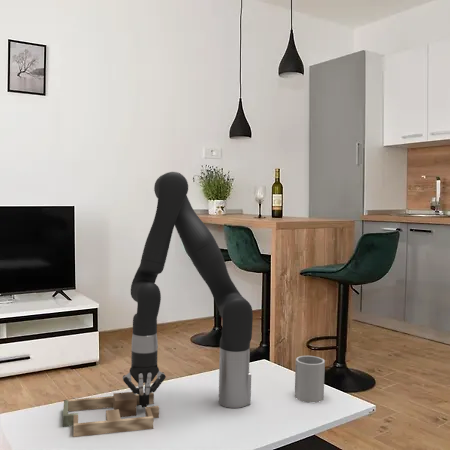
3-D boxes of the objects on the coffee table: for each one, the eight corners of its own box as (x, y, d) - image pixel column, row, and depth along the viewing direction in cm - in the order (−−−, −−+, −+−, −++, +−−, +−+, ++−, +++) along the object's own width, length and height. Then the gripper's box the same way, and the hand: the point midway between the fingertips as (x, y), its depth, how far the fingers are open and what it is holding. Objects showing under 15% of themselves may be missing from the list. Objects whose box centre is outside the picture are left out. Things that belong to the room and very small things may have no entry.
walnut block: (133, 407, 156) (133, 391, 156) (136, 416, 151) (136, 399, 150) (113, 410, 155) (113, 393, 154) (115, 418, 149) (115, 401, 149)
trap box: (153, 402, 161) (153, 392, 161) (162, 427, 143) (162, 417, 143) (63, 410, 153) (63, 400, 153) (62, 437, 136) (62, 426, 136)
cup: (329, 398, 167) (330, 361, 166) (308, 404, 161) (309, 366, 161) (309, 389, 174) (310, 354, 173) (288, 395, 169) (289, 358, 168)
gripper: (164, 343, 159) (164, 399, 160) (120, 346, 155) (119, 403, 156) (169, 350, 151) (168, 409, 152) (122, 353, 148) (122, 413, 149)
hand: (143, 406), depth 154 cm, fingers closed
